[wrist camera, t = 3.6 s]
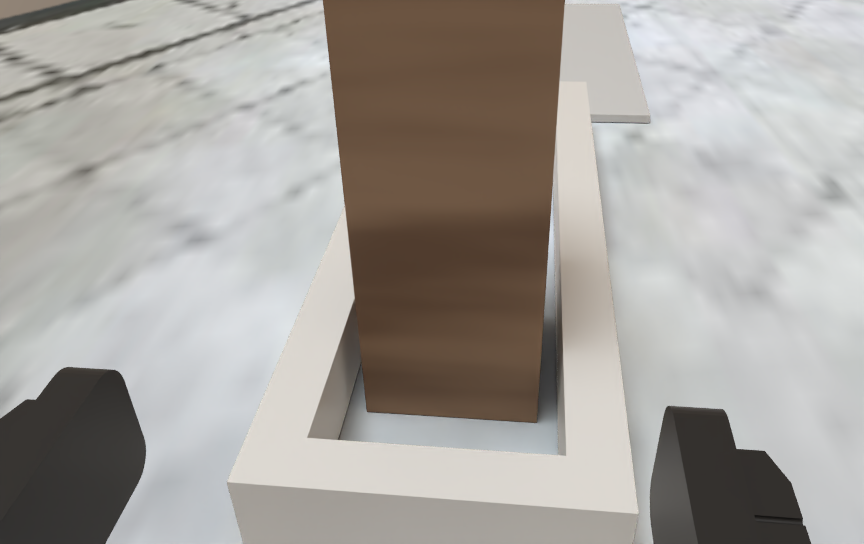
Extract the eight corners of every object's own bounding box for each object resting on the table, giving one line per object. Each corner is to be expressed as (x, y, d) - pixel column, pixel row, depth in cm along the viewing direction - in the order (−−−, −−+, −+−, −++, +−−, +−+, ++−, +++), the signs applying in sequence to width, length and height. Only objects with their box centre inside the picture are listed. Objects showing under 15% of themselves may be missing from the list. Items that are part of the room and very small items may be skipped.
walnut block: (536, 422, 22) (572, -113, 14) (366, 411, 23) (311, -110, 15) (537, 316, 26) (566, -146, 18) (393, 309, 27) (361, -142, 19)
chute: (625, 582, 18) (638, 514, 17) (245, 549, 19) (226, 481, 18) (582, 129, 39) (586, 81, 37) (401, 125, 40) (398, 79, 38)
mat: (649, 122, 39) (650, 115, 39) (341, 116, 41) (340, 109, 41) (618, 9, 56) (619, 4, 55) (399, 9, 57) (399, 3, 57)
